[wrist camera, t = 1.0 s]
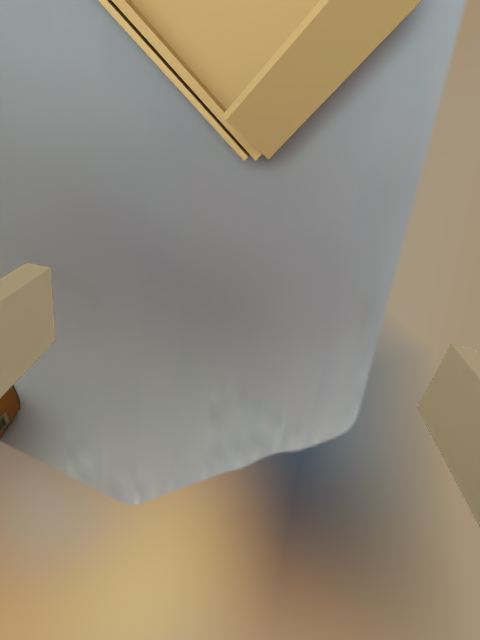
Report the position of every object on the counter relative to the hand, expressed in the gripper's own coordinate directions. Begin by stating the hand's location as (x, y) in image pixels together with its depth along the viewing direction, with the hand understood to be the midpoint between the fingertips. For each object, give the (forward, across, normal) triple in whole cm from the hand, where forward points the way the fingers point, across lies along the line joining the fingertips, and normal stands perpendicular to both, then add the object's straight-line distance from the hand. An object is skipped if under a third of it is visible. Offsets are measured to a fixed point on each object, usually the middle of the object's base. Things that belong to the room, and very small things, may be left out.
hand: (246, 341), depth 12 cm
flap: (+19, +4, +10) cm, 22 cm away
